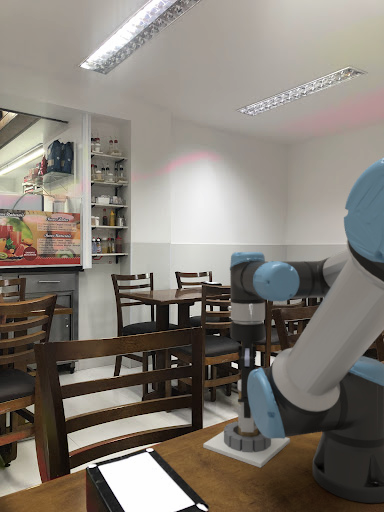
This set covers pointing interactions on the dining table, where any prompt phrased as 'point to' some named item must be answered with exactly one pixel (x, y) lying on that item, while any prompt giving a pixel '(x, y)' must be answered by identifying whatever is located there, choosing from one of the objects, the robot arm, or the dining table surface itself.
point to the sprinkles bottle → (247, 434)
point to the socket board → (246, 456)
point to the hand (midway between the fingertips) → (247, 426)
